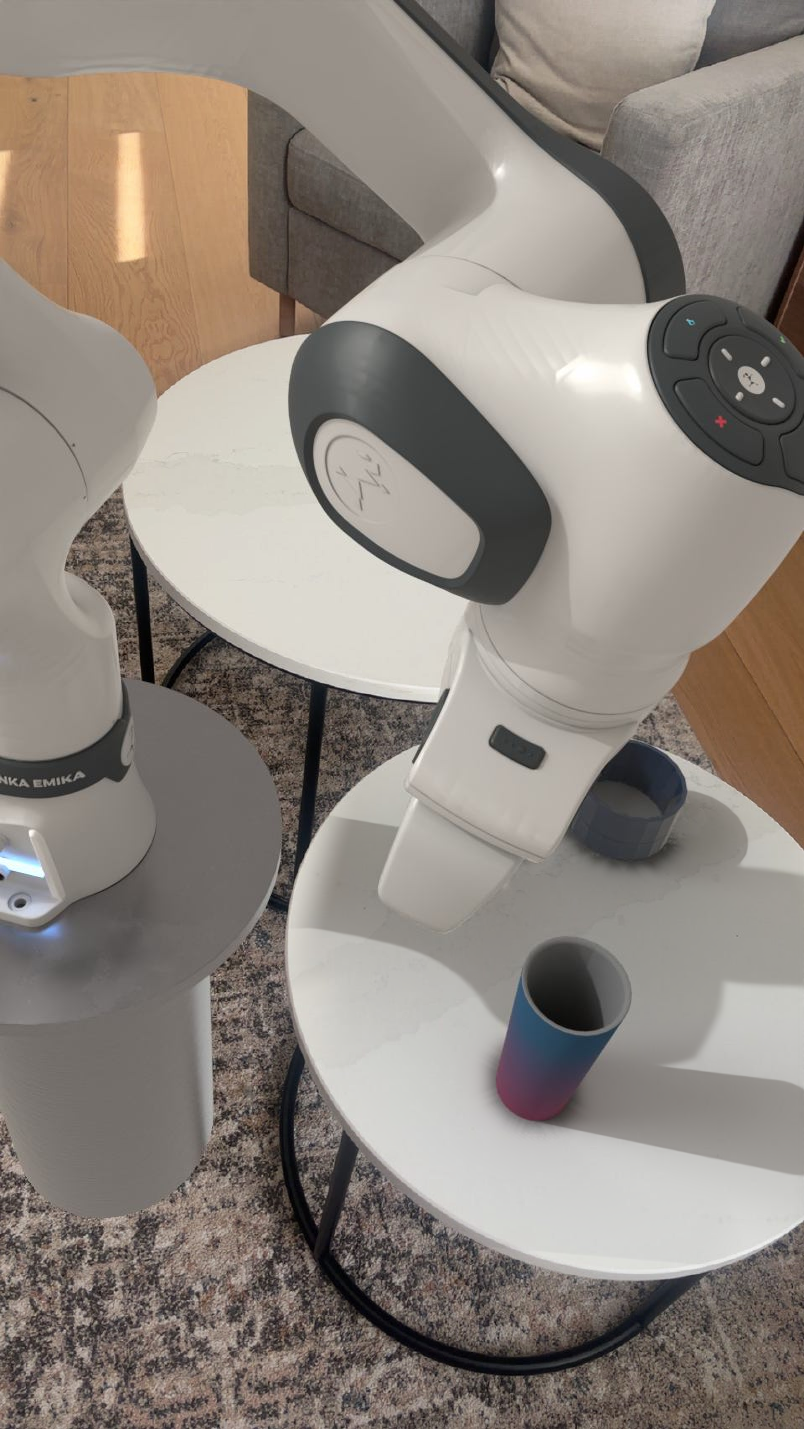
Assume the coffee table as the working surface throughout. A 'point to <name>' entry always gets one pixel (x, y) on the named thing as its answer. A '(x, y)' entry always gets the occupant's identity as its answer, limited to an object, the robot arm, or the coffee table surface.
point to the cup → (559, 1024)
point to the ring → (623, 832)
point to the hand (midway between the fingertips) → (461, 794)
